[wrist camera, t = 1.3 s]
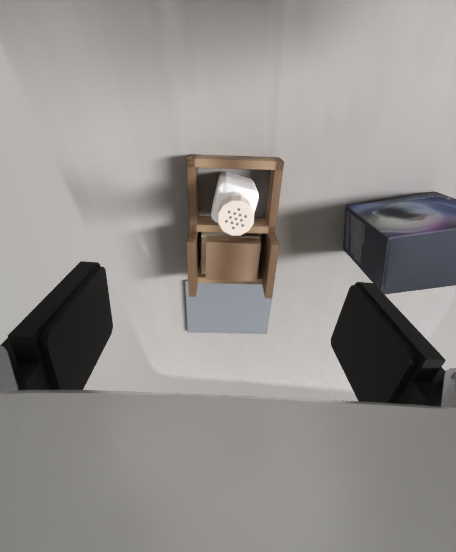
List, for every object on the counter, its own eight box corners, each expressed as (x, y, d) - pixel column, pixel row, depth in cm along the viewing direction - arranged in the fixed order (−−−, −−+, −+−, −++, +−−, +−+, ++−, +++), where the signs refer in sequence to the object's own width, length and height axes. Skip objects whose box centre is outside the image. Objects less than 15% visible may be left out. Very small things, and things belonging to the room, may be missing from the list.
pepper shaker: (244, 212, 33) (251, 245, 25) (212, 203, 33) (207, 234, 24) (255, 179, 31) (265, 202, 23) (220, 169, 31) (219, 189, 22)
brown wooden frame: (278, 157, 30) (290, 166, 25) (265, 272, 37) (271, 298, 32) (190, 154, 30) (182, 163, 25) (194, 270, 37) (188, 296, 32)
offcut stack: (260, 227, 34) (265, 243, 30) (255, 264, 37) (259, 283, 33) (202, 224, 34) (198, 240, 30) (201, 261, 37) (198, 281, 33)
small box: (438, 187, 32) (522, 216, 23) (427, 239, 35) (497, 282, 26) (344, 202, 33) (390, 236, 24) (342, 251, 36) (381, 298, 27)
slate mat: (273, 281, 38) (273, 283, 38) (266, 331, 43) (266, 333, 42) (185, 279, 38) (184, 281, 37) (188, 330, 42) (187, 332, 42)
